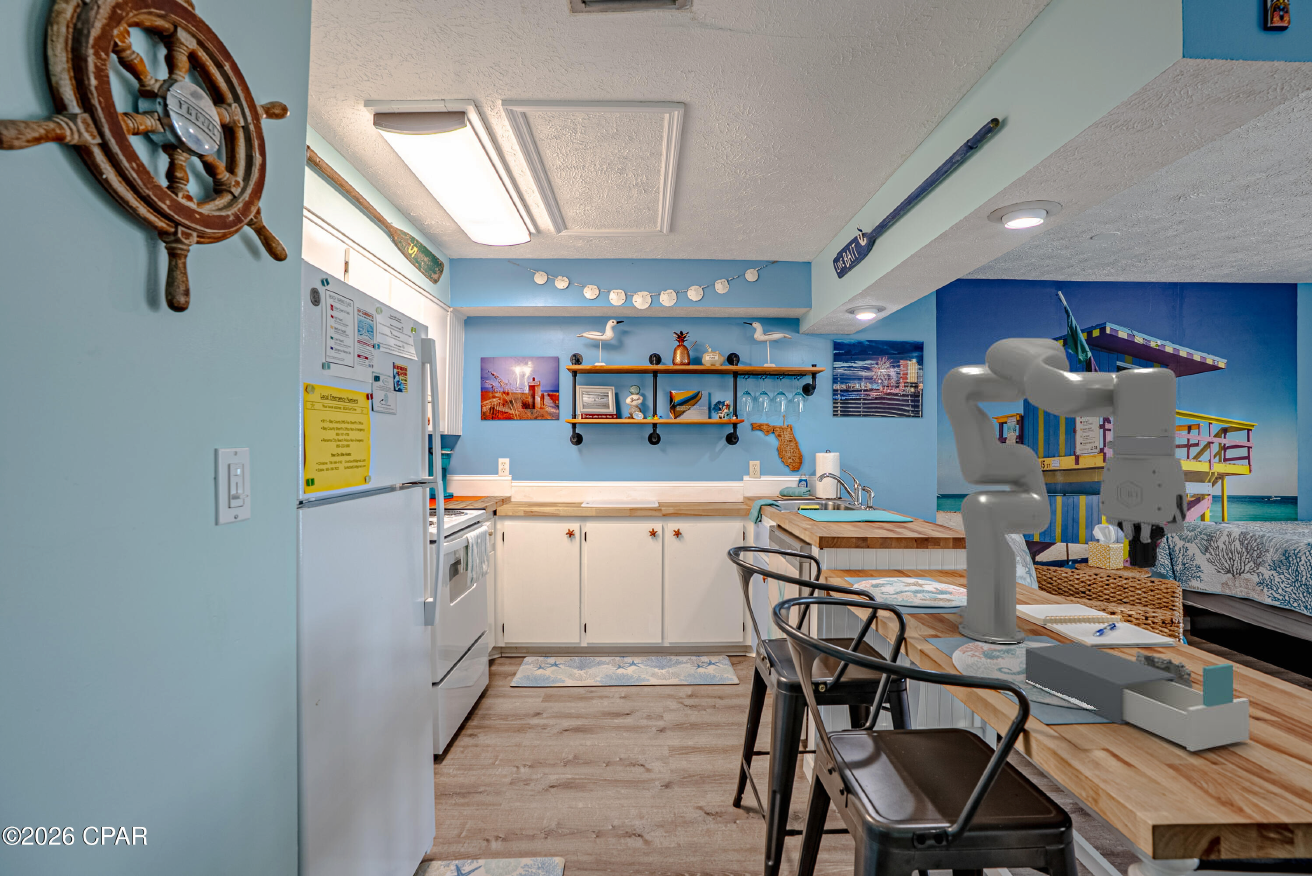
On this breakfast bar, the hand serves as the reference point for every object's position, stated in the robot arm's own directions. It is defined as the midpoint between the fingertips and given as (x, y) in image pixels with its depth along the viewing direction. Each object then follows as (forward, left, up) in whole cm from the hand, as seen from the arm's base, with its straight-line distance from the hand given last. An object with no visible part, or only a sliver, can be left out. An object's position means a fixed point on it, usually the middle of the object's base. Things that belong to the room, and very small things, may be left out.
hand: (1142, 566), depth 92 cm
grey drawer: (+1, 0, -23) cm, 23 cm away
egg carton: (-8, +17, -24) cm, 30 cm away
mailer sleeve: (-7, 0, -23) cm, 24 cm away
